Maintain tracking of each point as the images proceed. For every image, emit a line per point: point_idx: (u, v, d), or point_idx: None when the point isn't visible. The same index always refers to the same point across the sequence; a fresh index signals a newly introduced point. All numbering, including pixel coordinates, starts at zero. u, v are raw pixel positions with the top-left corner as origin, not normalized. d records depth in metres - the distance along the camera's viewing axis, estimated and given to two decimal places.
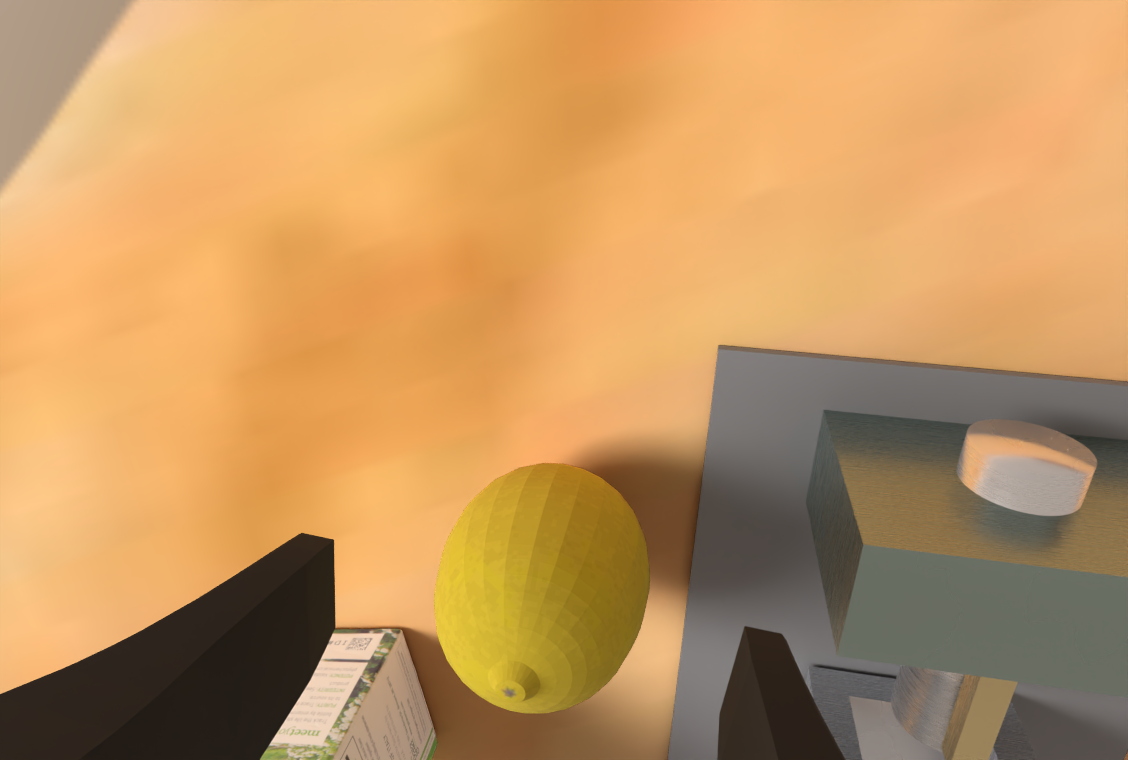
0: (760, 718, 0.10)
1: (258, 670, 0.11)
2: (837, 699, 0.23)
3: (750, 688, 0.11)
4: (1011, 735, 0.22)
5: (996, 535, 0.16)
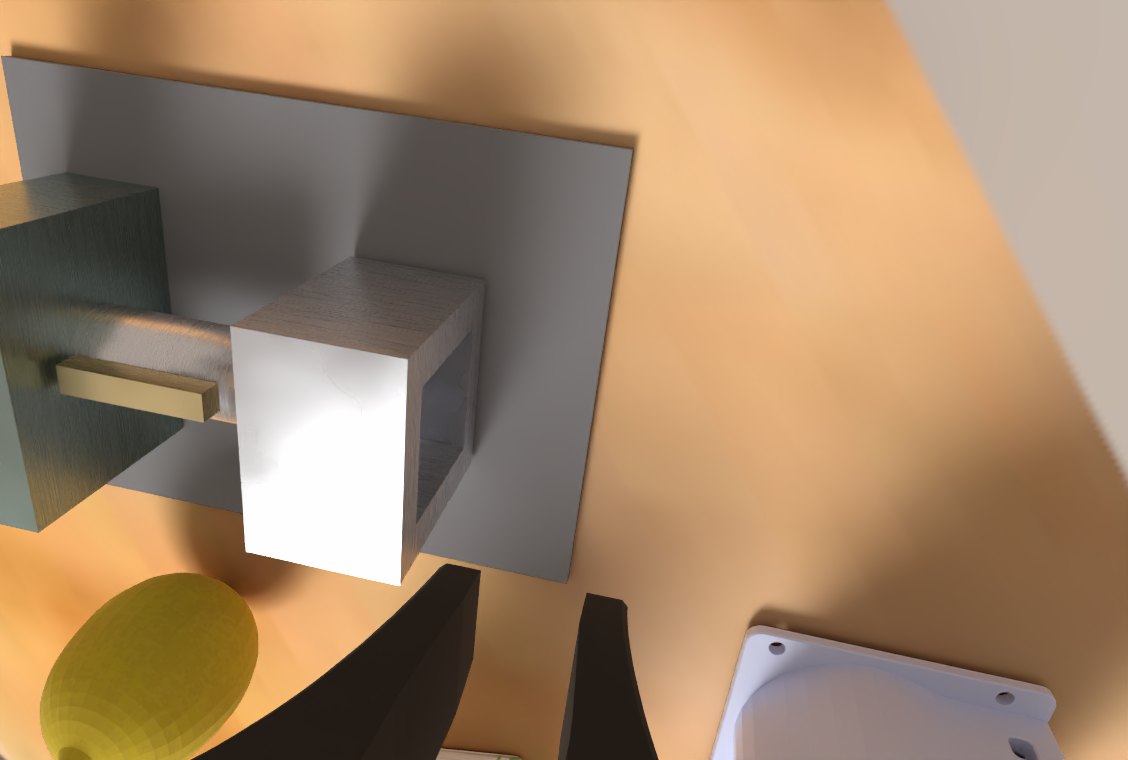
0: (574, 677, 0.11)
1: (426, 709, 0.11)
2: None
3: (575, 650, 0.11)
4: None
5: None
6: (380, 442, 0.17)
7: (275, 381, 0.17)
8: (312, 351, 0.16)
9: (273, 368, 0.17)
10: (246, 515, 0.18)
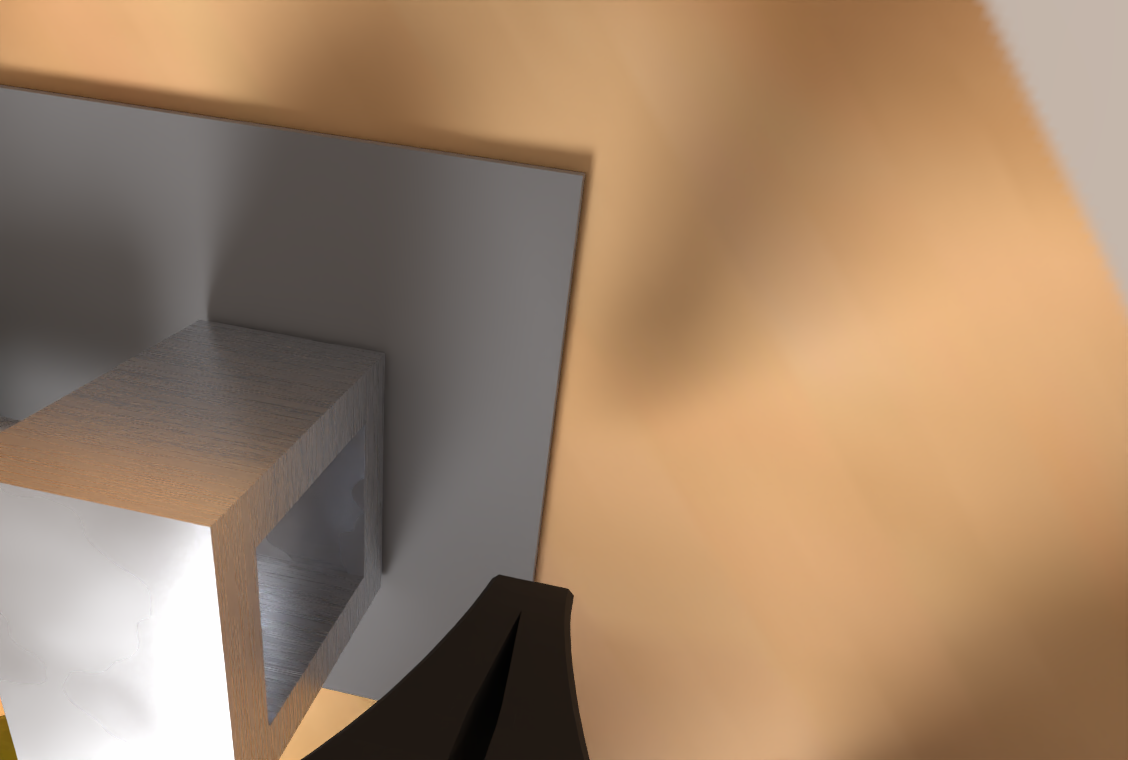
0: None
1: (487, 722, 0.11)
2: None
3: None
4: None
5: None
6: (186, 640, 0.11)
7: (18, 549, 0.11)
8: (64, 509, 0.10)
9: (11, 531, 0.11)
10: (12, 723, 0.13)
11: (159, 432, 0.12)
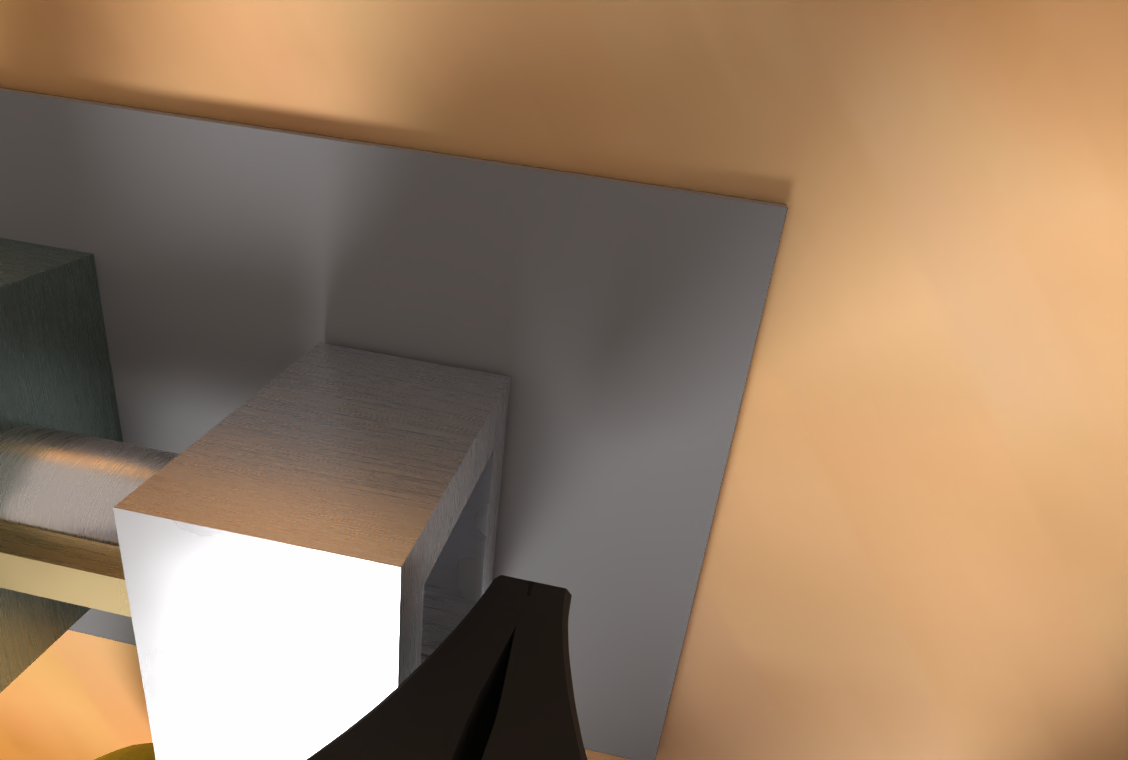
0: None
1: (490, 723, 0.11)
2: None
3: None
4: None
5: None
6: (359, 679, 0.11)
7: (190, 588, 0.11)
8: (246, 549, 0.10)
9: (186, 570, 0.10)
10: None
11: (318, 465, 0.12)
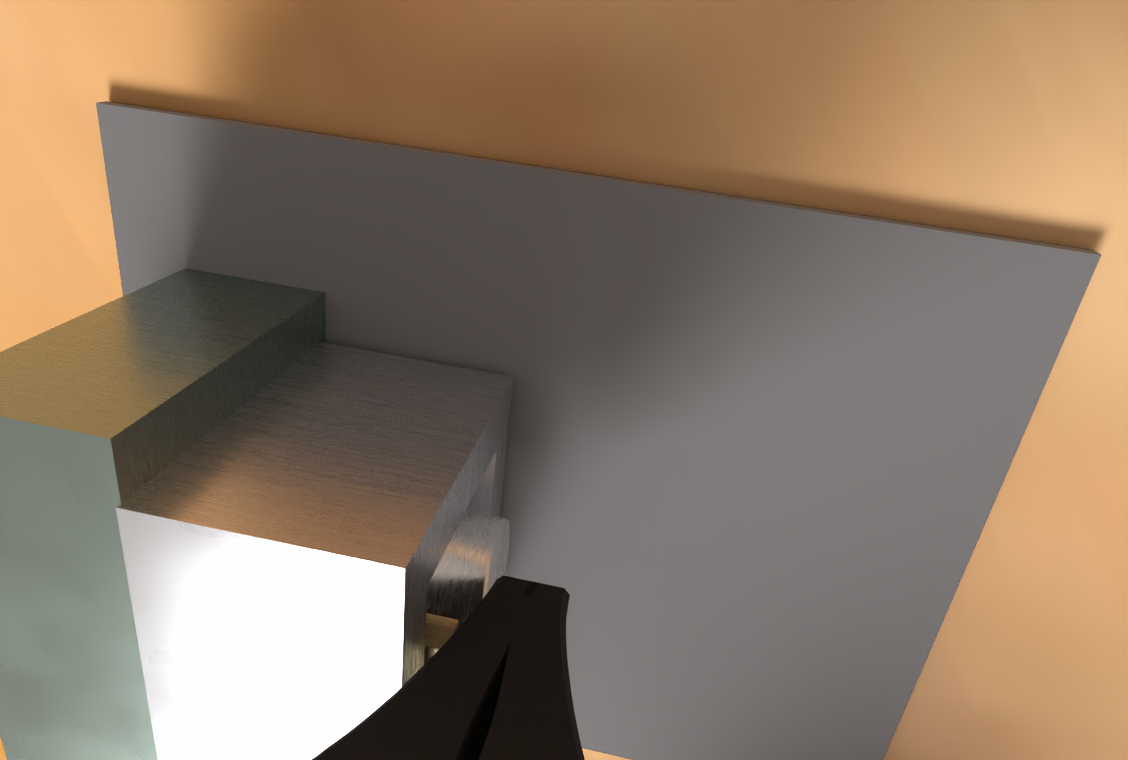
0: None
1: None
2: None
3: None
4: None
5: None
6: (362, 680, 0.11)
7: (193, 588, 0.10)
8: (249, 549, 0.10)
9: (188, 570, 0.10)
10: None
11: (321, 465, 0.12)
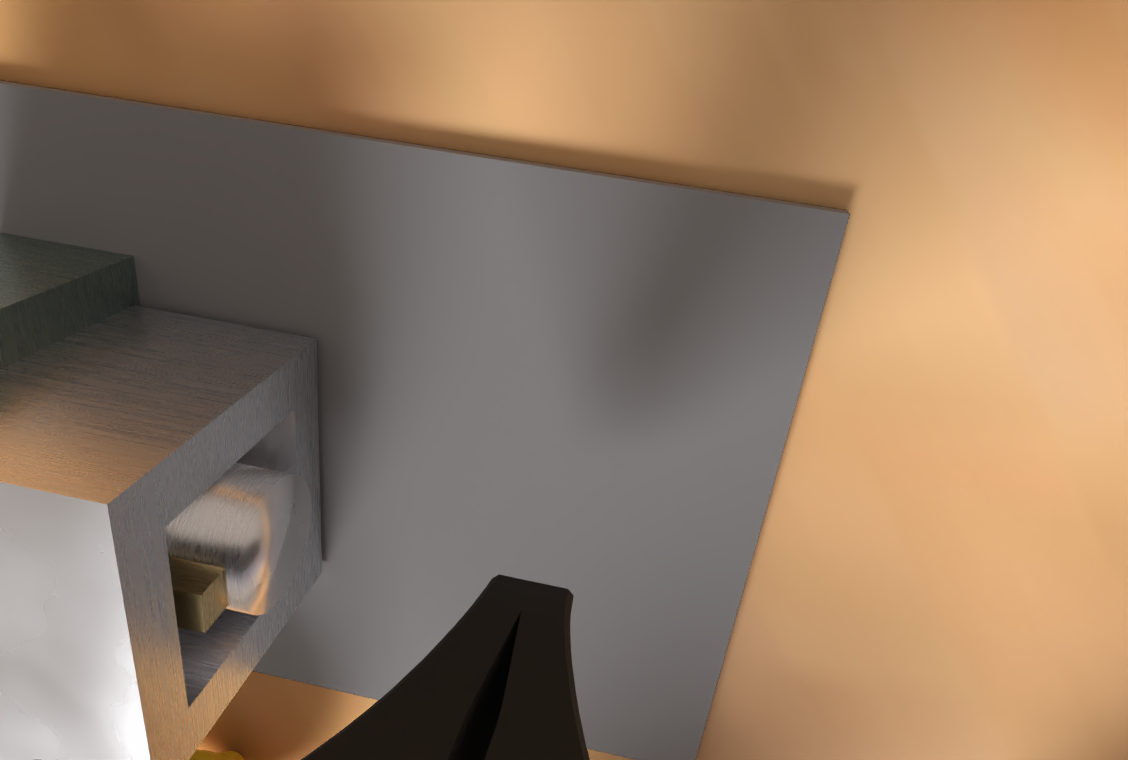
0: None
1: (487, 722, 0.11)
2: None
3: None
4: None
5: None
6: (91, 618, 0.11)
7: None
8: None
9: None
10: None
11: (72, 413, 0.12)
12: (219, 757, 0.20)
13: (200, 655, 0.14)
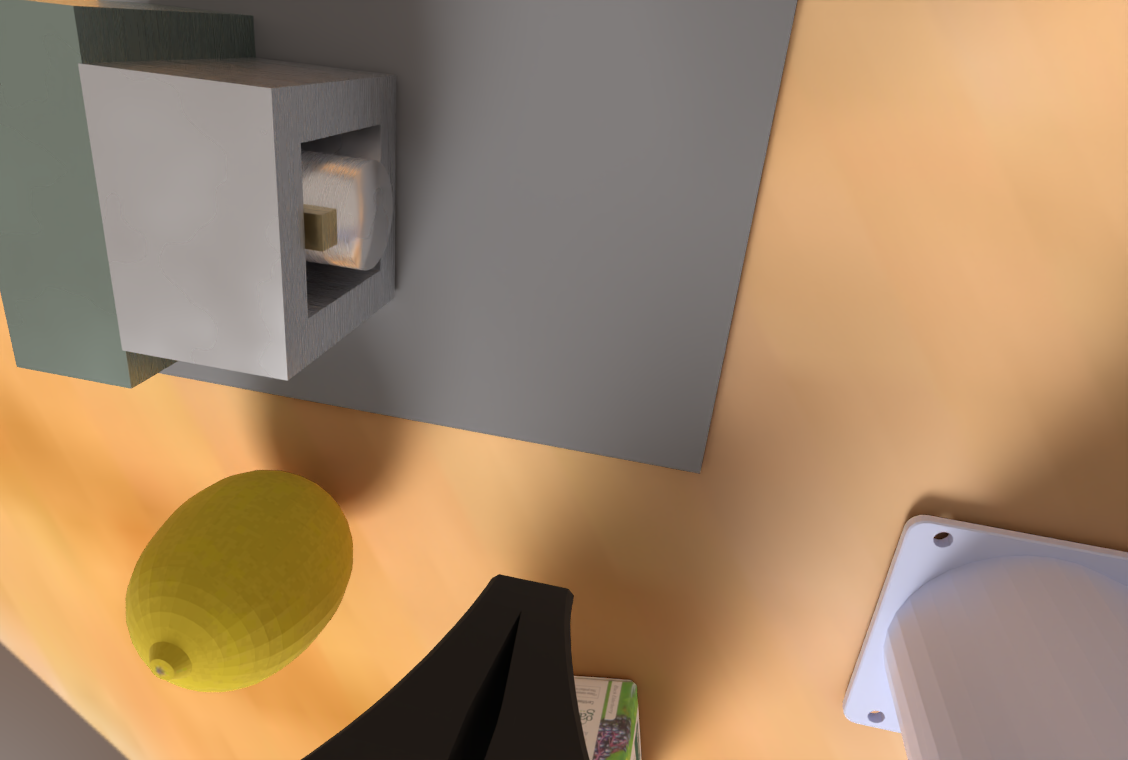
0: None
1: (487, 723, 0.11)
2: None
3: None
4: None
5: None
6: (251, 199, 0.15)
7: (132, 130, 0.15)
8: (168, 87, 0.15)
9: (129, 113, 0.15)
10: (118, 305, 0.17)
11: (229, 72, 0.16)
12: None
13: (311, 300, 0.18)
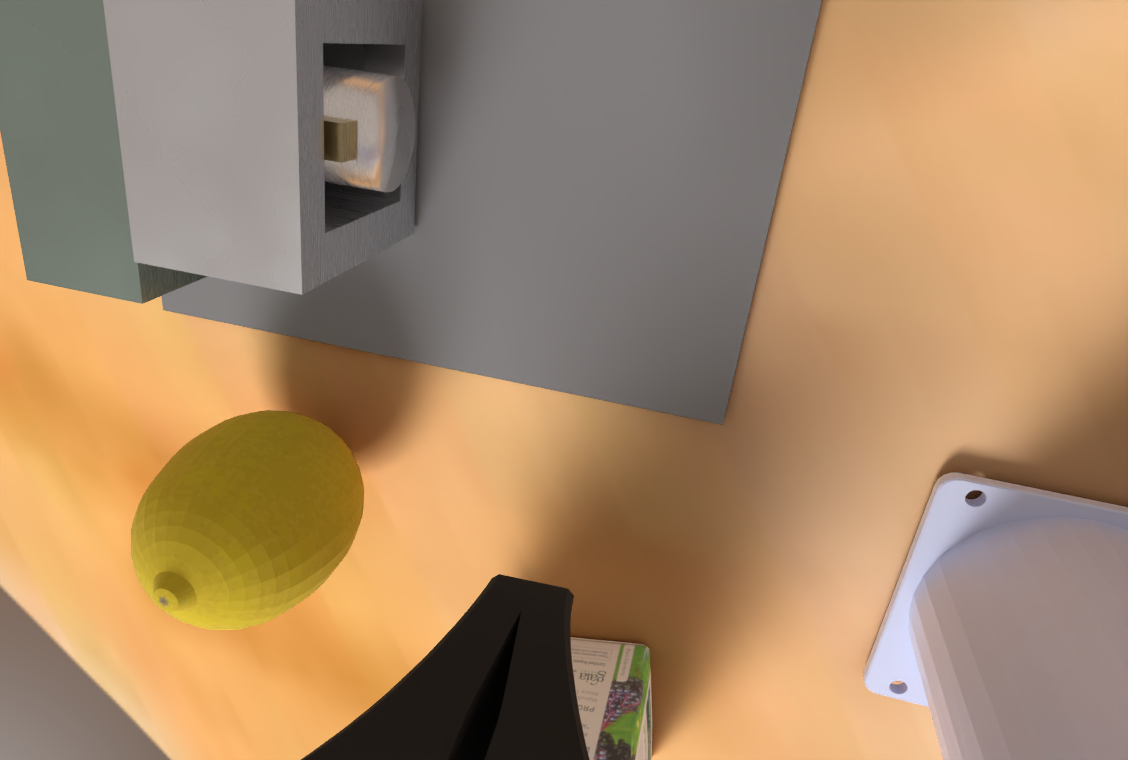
0: None
1: (487, 723, 0.11)
2: None
3: None
4: None
5: None
6: (270, 97, 0.15)
7: (151, 23, 0.15)
8: None
9: (147, 5, 0.14)
10: (131, 212, 0.16)
11: None
12: None
13: (329, 219, 0.18)
